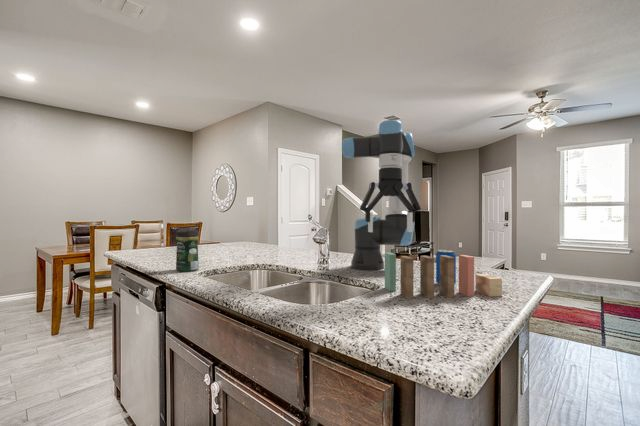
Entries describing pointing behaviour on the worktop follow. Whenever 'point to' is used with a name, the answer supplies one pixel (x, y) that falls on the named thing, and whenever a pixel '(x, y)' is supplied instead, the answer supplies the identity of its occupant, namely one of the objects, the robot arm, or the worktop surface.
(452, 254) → the blue rectangular box
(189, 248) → the coffee jar
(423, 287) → the tile
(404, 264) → the tile
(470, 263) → the red end tile
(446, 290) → the tile
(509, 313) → the worktop surface
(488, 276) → the oak block
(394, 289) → the green tile
